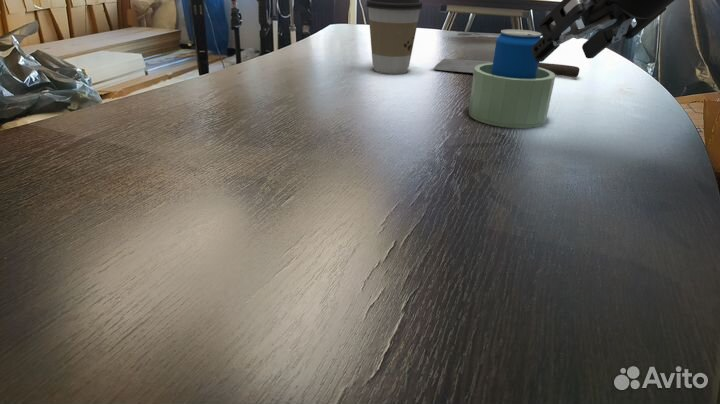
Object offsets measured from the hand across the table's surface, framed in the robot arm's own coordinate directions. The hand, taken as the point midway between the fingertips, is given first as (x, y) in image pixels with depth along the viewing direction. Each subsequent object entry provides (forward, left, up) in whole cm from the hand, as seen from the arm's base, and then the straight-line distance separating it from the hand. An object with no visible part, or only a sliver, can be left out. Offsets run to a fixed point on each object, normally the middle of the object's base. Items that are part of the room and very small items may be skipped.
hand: (561, 54), depth 66 cm
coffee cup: (-8, -42, -11) cm, 44 cm away
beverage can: (-2, -8, -11) cm, 13 cm away
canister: (-2, -8, -11) cm, 14 cm away
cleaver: (-28, -28, -11) cm, 41 cm away
